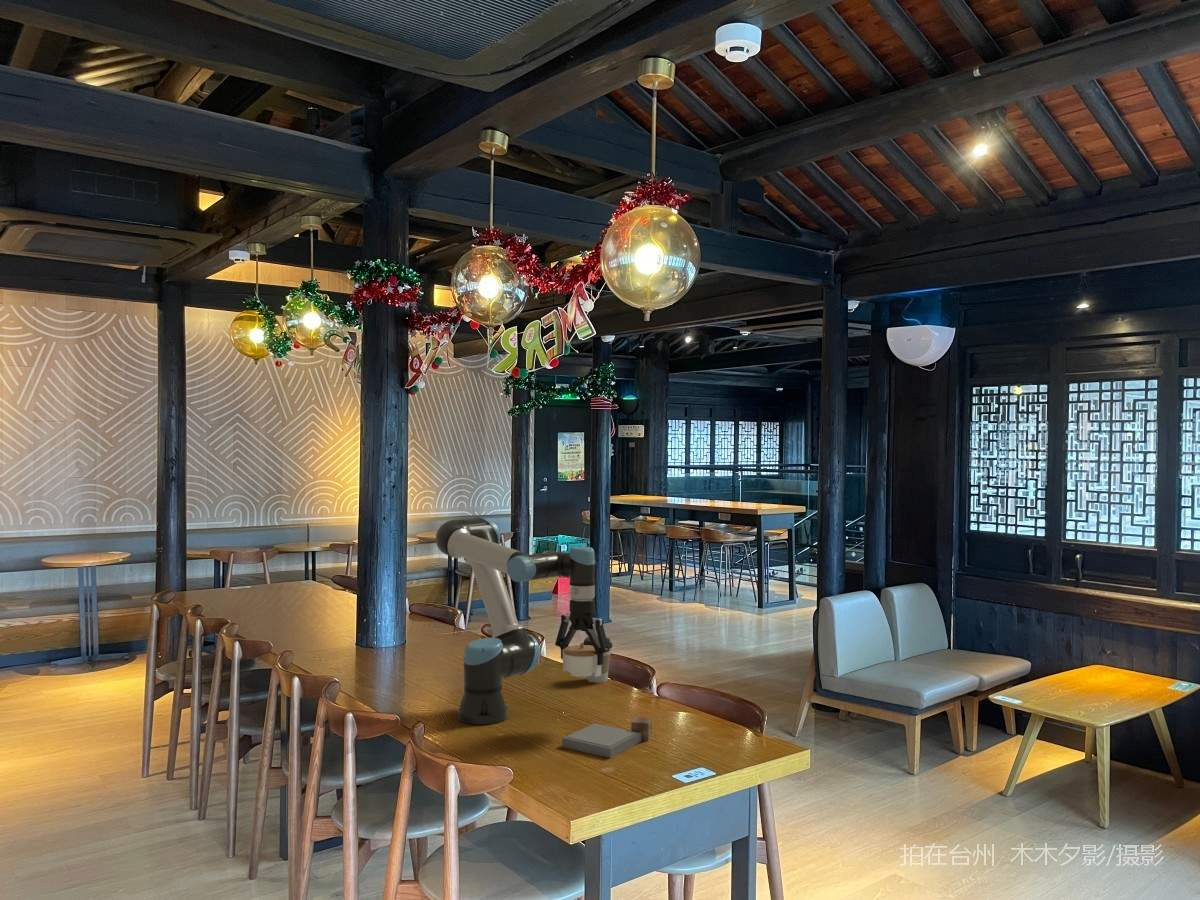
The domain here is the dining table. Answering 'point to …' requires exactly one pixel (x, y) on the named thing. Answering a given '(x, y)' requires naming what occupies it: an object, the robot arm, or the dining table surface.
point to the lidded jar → (580, 660)
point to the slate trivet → (601, 740)
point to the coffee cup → (604, 667)
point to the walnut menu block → (642, 727)
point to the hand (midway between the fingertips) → (581, 673)
